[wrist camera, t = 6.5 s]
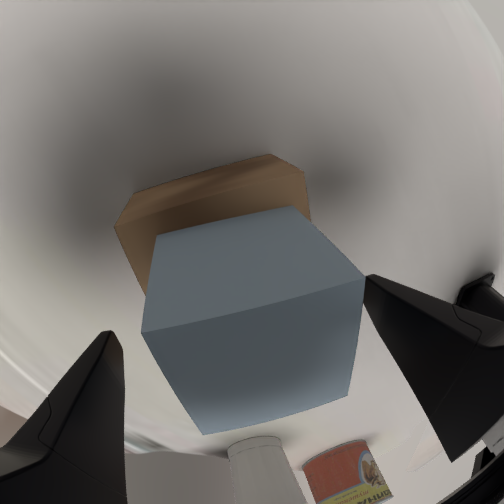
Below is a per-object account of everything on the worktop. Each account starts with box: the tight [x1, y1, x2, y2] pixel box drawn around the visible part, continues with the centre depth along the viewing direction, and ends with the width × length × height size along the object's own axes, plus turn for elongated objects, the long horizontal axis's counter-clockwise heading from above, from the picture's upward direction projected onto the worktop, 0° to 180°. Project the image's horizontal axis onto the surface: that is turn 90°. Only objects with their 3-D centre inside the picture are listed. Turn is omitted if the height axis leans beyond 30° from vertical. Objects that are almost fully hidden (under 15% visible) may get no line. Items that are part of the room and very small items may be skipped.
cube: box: [141, 205, 366, 435], centre depth 9 cm, size 5×5×5 cm
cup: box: [227, 436, 308, 504], centre depth 23 cm, size 8×8×12 cm
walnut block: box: [114, 154, 311, 296], centre depth 13 cm, size 7×7×4 cm
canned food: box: [302, 440, 393, 504], centre depth 32 cm, size 11×11×12 cm
